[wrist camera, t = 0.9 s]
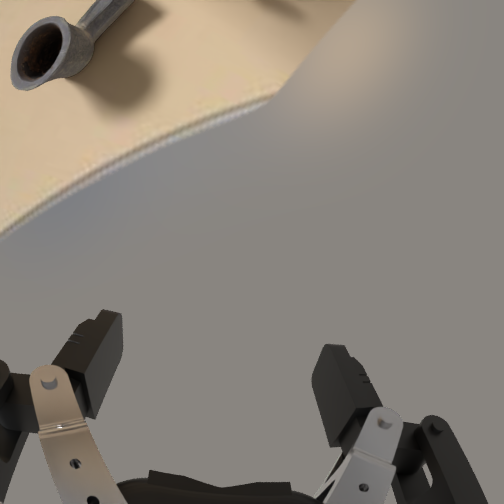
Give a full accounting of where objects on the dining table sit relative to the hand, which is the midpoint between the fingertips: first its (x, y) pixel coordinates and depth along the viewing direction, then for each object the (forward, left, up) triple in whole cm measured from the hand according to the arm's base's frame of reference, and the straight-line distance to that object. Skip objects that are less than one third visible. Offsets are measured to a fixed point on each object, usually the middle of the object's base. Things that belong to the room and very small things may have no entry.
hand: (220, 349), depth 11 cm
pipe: (-20, +5, -24) cm, 32 cm away
